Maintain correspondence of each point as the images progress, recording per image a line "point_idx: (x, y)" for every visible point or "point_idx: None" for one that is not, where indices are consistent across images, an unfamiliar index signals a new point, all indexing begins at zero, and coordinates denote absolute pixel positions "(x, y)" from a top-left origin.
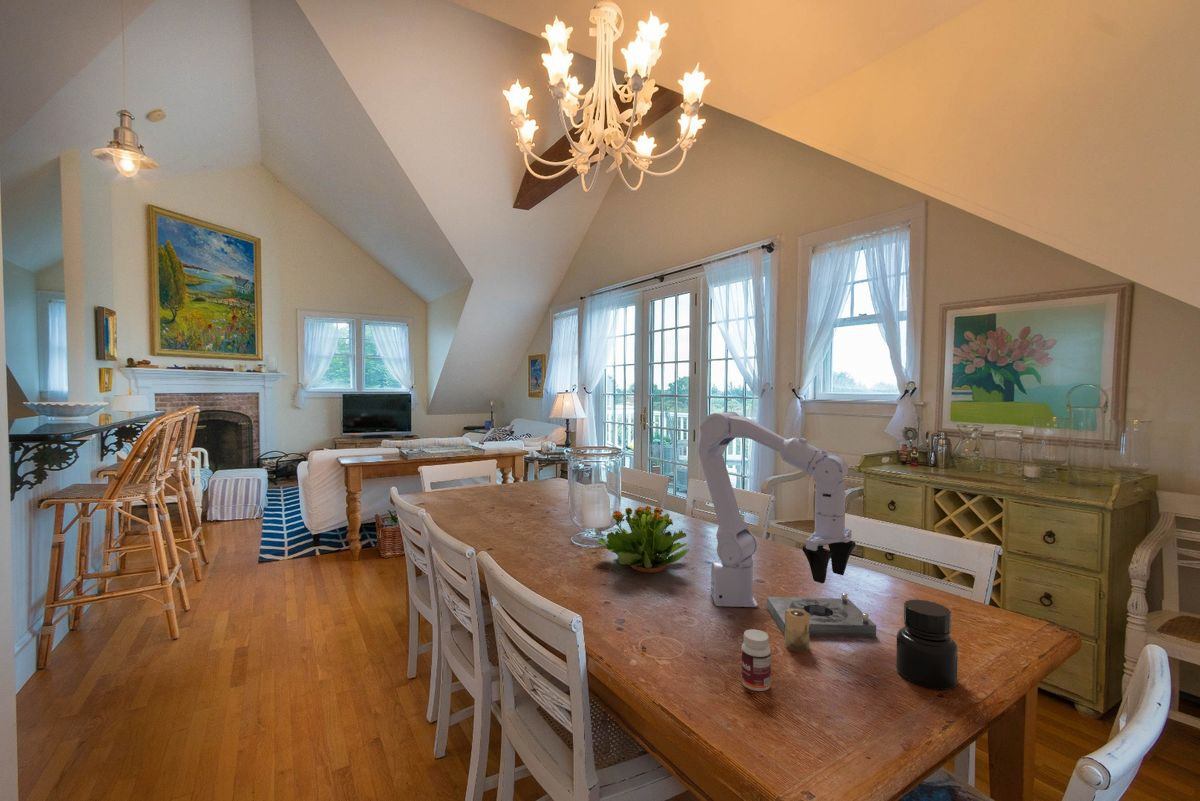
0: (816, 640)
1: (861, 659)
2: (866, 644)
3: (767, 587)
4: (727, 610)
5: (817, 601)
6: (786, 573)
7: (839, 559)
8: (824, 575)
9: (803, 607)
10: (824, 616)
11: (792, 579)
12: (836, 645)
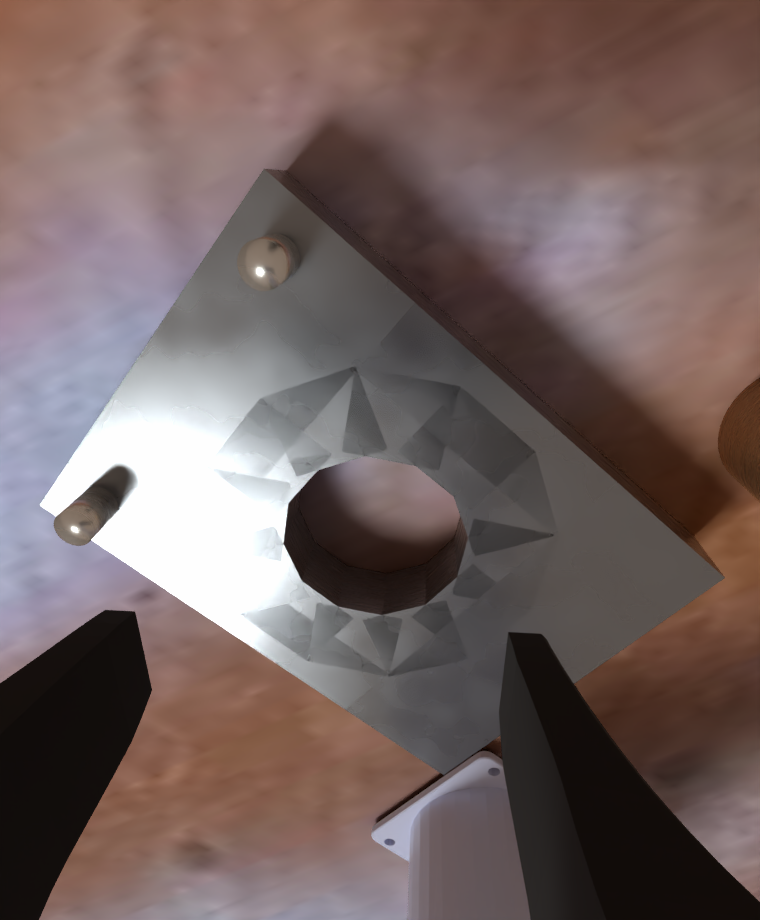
0: (624, 398)
1: (684, 73)
2: (435, 165)
3: (229, 811)
4: None
5: (255, 598)
6: None
7: (33, 790)
8: (573, 695)
9: (410, 609)
10: (296, 509)
11: None
12: (601, 288)
